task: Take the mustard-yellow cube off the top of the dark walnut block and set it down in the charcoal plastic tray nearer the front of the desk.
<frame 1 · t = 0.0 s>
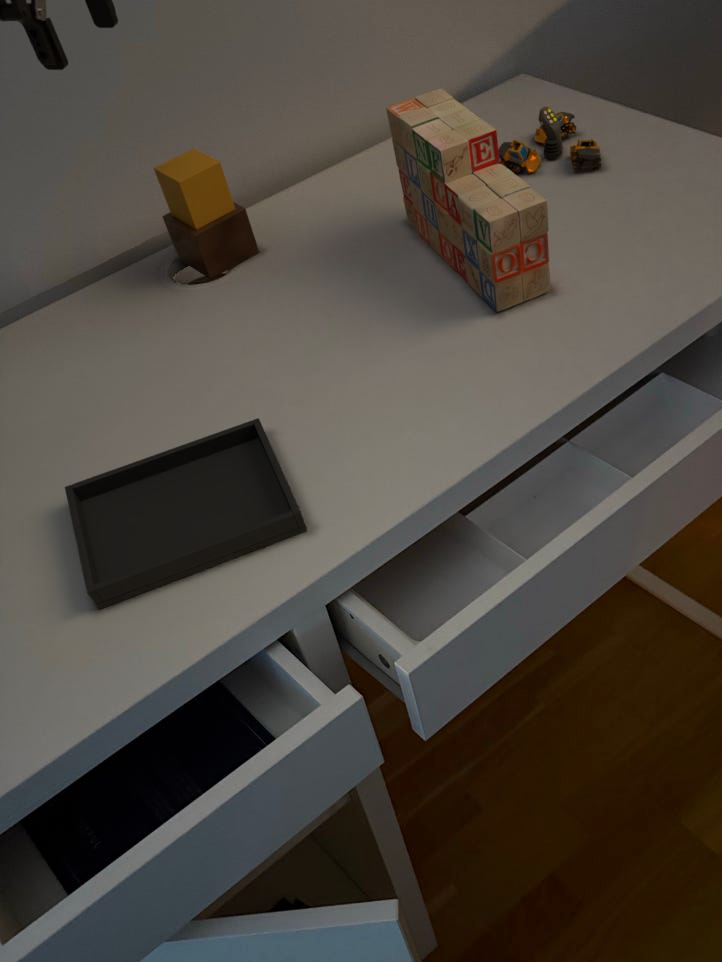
hand: (83, 46, 83), 23 cm above the table, tool pointing down, fingers open, 8 cm apart
stack of blocks: (475, 257, 97), on the table
base block: (219, 256, 103), on the table, touching top cube
top cube: (203, 212, 99), point 5 cm above the table, touching base block
tray: (187, 517, 78), on the table
toy set: (558, 161, 107), on the table
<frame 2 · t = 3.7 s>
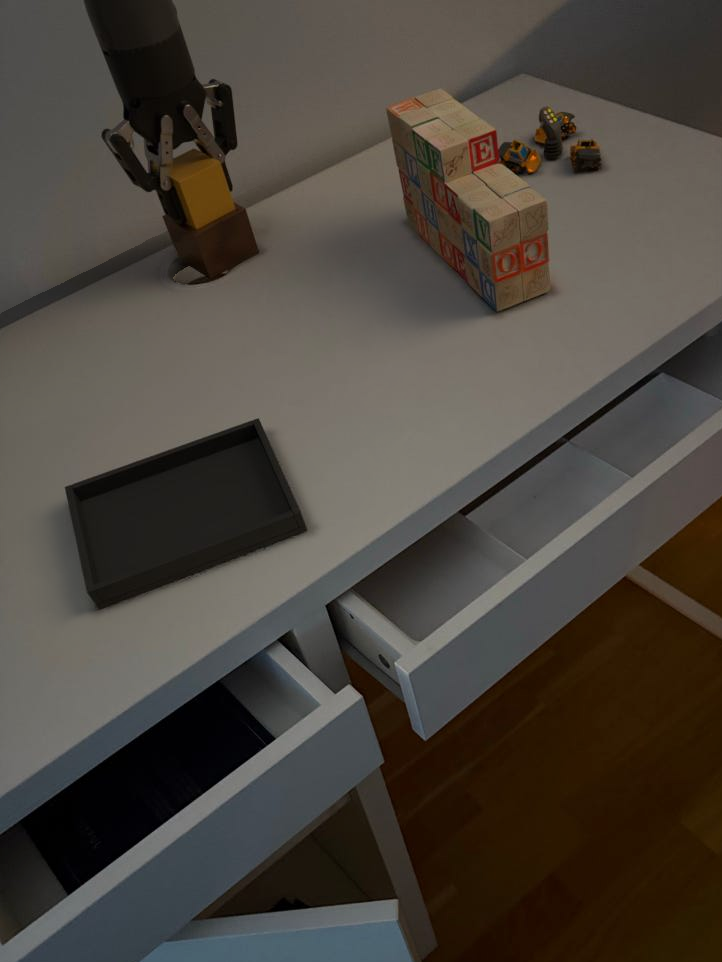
hand: (202, 208, 98), 5 cm above the table, tool pointing down, fingers closed on top cube, 5 cm apart
top cube: (203, 212, 99), point 5 cm above the table, touching base block, gripper
everything else where it was.
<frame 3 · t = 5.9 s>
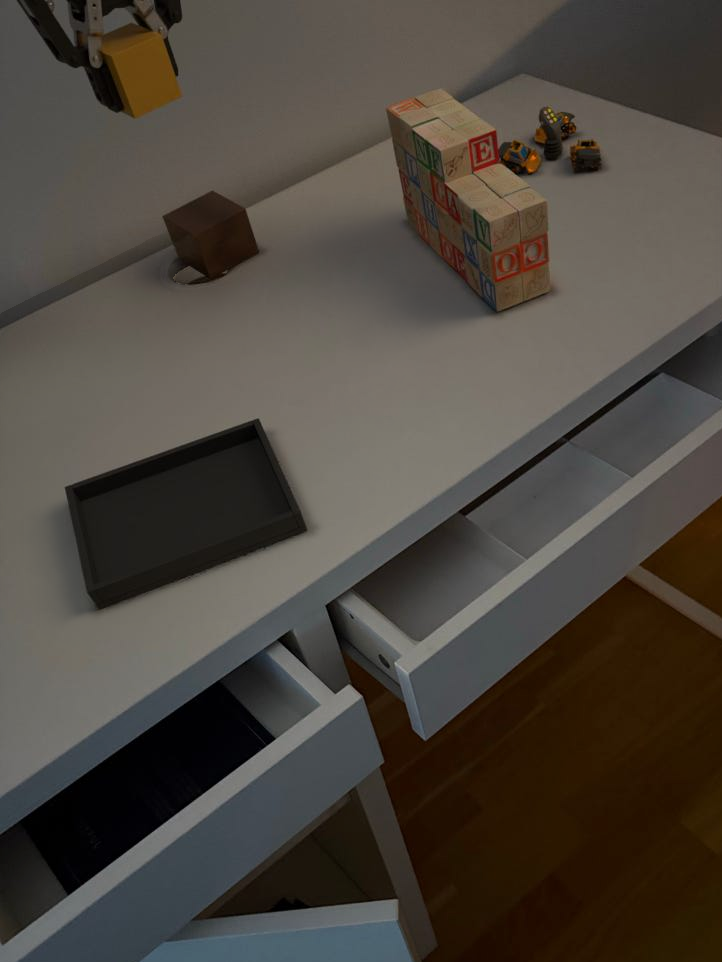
hand: (142, 96, 83), 19 cm above the table, tool pointing down, fingers closed on top cube, 5 cm apart
base block: (219, 256, 103), on the table
top cube: (144, 100, 83), point 19 cm above the table, touching gripper
everything else where it was.
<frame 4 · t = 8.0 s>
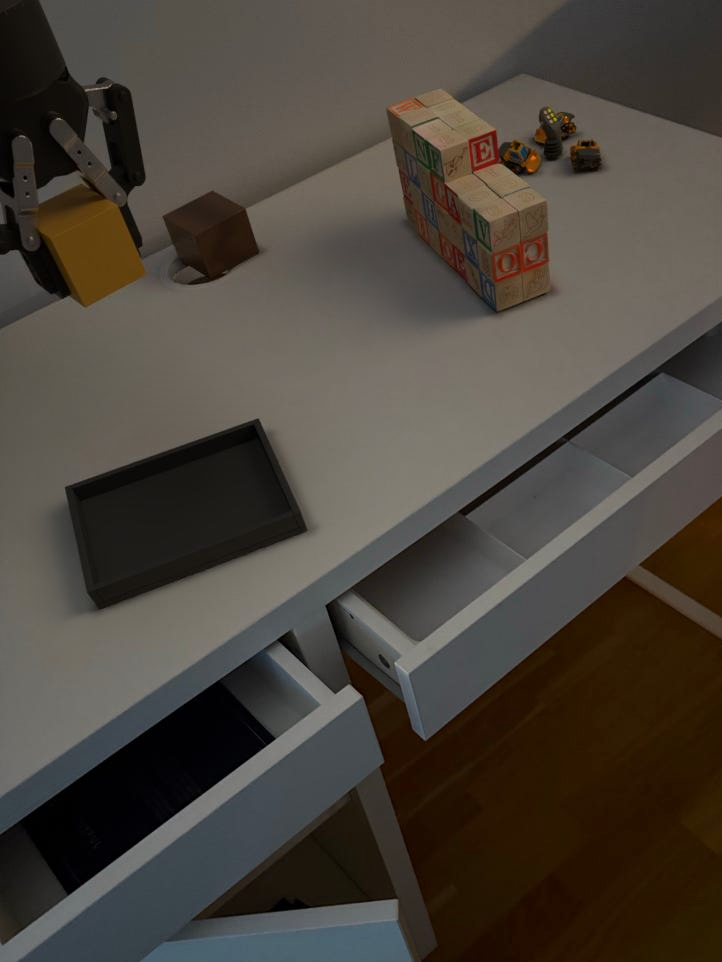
hand: (96, 273, 65), 20 cm above the table, tool pointing down, fingers closed on top cube, 5 cm apart
top cube: (99, 278, 65), point 19 cm above the table, touching gripper
everything else where it was.
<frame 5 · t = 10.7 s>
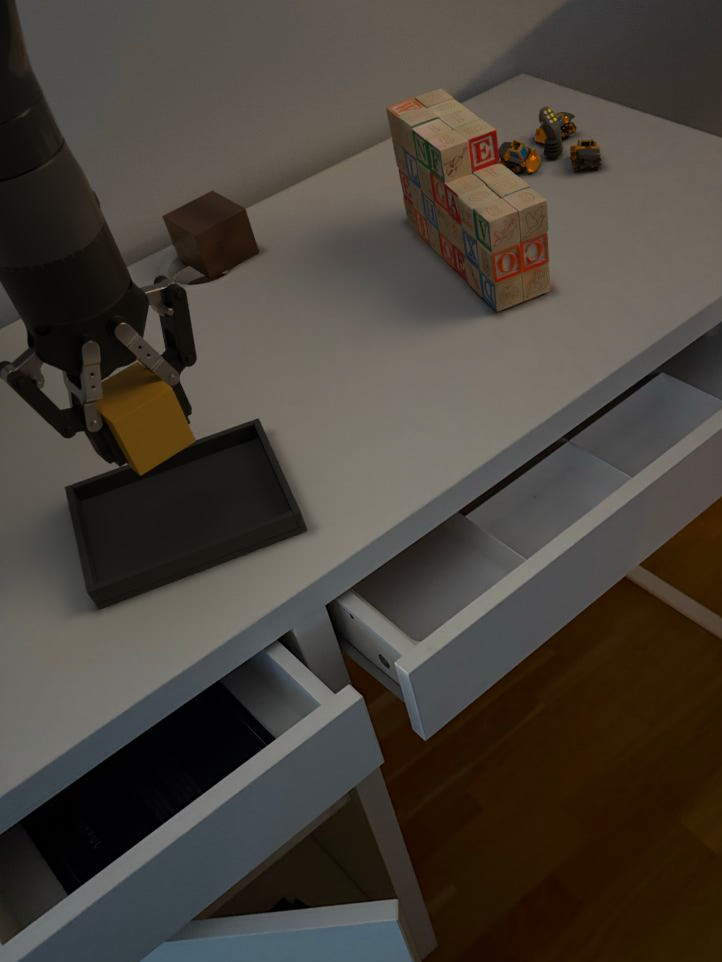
hand: (149, 440, 71), 8 cm above the table, tool pointing down, fingers closed on top cube, 5 cm apart
top cube: (152, 444, 71), point 8 cm above the table, touching gripper
everything else where it was.
when the fingers open (1 cm above the table, at t = 12.8 s): top cube stays where it is, resting on tray.
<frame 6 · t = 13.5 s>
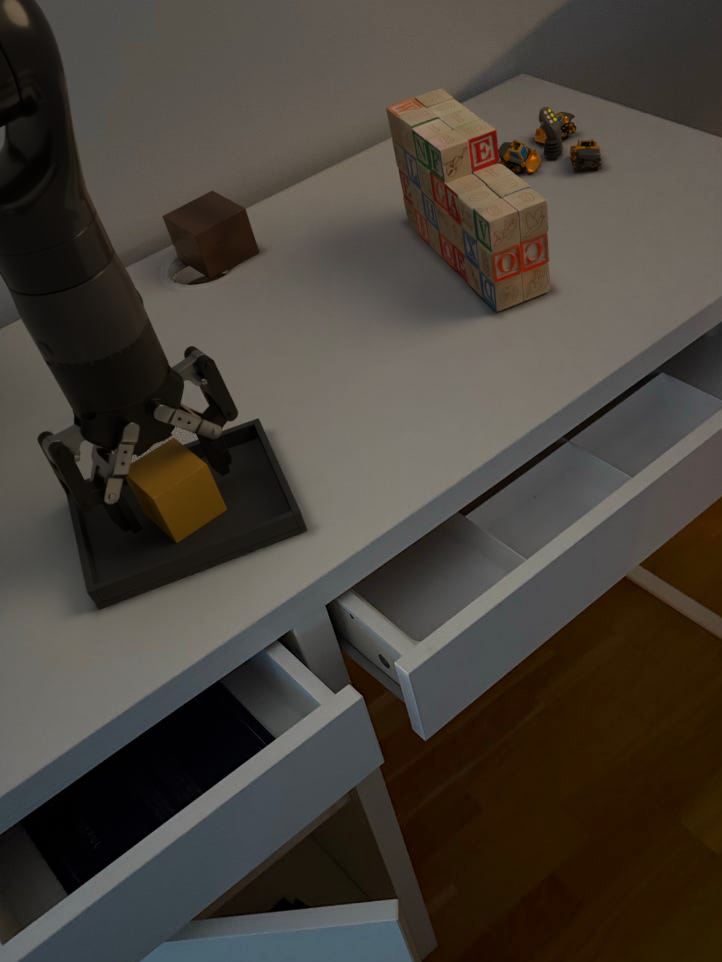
hand: (177, 498, 76), 2 cm above the table, tool pointing down, fingers open, 8 cm apart
top cube: (186, 512, 77), point 1 cm above the table, touching tray
everything else where it was.
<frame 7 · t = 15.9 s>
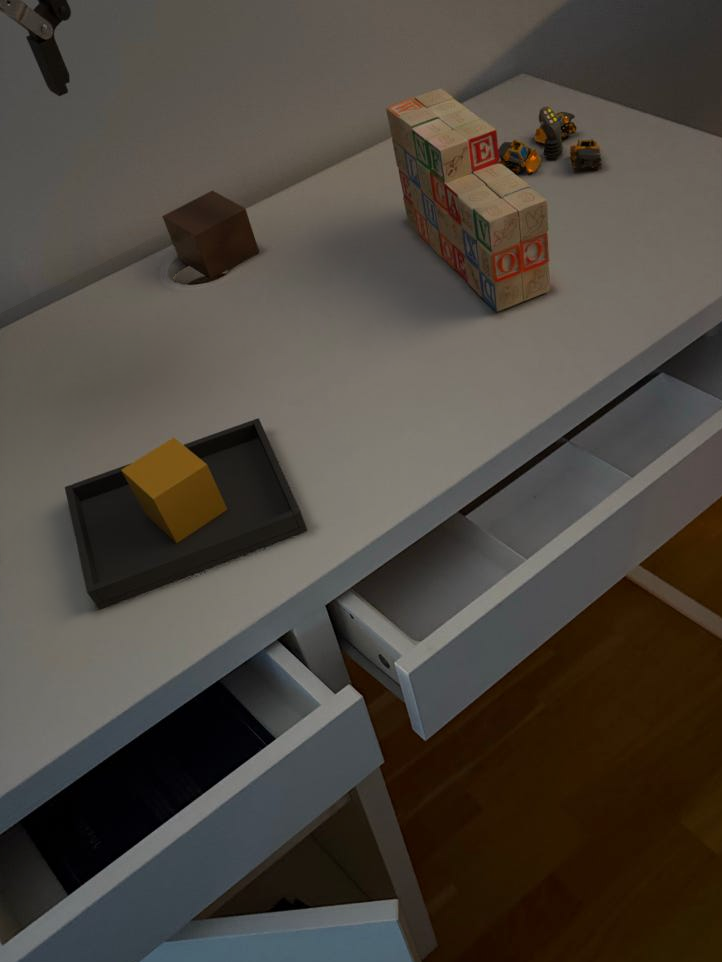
hand: (8, 113, 70), 25 cm above the table, tool pointing down, fingers open, 8 cm apart
nothing on the table moved.
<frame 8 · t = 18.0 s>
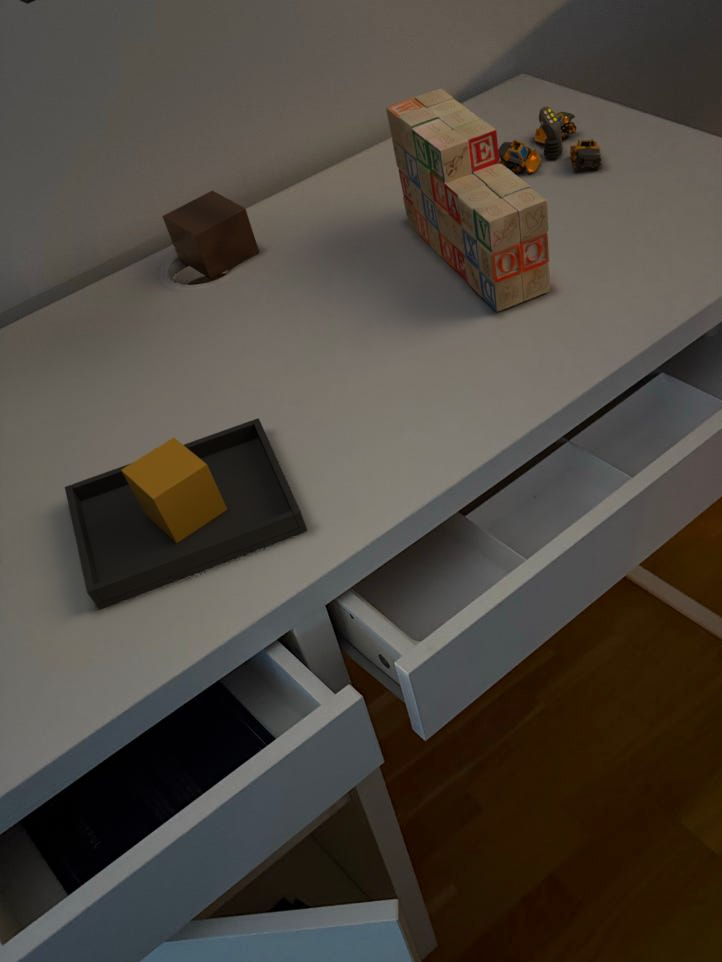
nothing on the table moved.
at the end: top cube inside the target area in the tray (0.1 cm from its centre), point 0.6 cm above the tray's base; base block moved 0.0 cm from its start; top cube tilted 0° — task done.
